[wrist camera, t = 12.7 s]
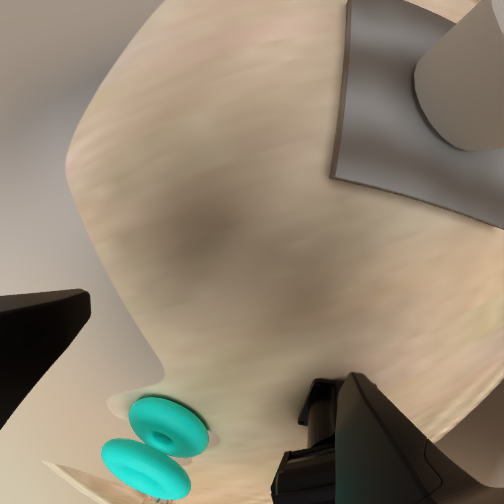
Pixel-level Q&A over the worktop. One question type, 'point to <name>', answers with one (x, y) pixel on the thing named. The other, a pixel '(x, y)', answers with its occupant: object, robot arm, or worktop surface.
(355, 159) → the plinth
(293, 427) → the worktop surface
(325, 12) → the worktop surface
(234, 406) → the worktop surface
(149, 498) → the white piece
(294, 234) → the worktop surface
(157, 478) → the turquoise double disc piece
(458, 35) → the can
